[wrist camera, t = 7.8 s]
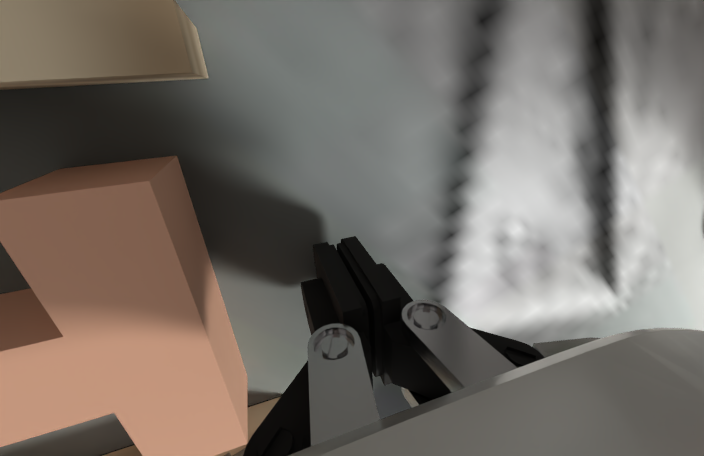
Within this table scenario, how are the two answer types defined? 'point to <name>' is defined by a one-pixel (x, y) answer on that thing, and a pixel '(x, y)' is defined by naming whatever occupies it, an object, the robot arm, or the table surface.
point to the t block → (117, 312)
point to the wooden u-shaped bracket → (102, 63)
